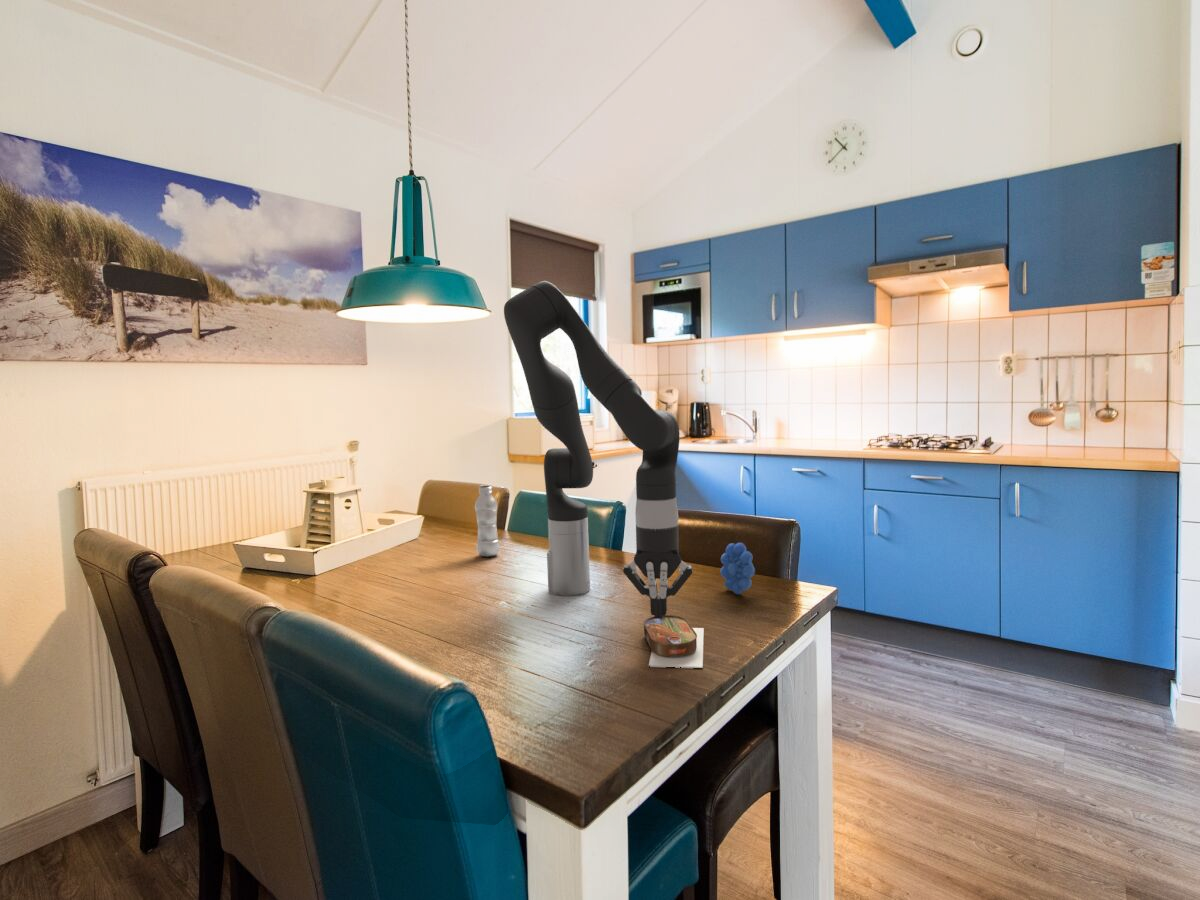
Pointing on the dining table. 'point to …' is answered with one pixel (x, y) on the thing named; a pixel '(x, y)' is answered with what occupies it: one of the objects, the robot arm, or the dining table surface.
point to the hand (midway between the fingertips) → (659, 617)
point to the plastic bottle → (487, 523)
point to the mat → (682, 661)
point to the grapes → (737, 568)
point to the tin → (670, 636)
